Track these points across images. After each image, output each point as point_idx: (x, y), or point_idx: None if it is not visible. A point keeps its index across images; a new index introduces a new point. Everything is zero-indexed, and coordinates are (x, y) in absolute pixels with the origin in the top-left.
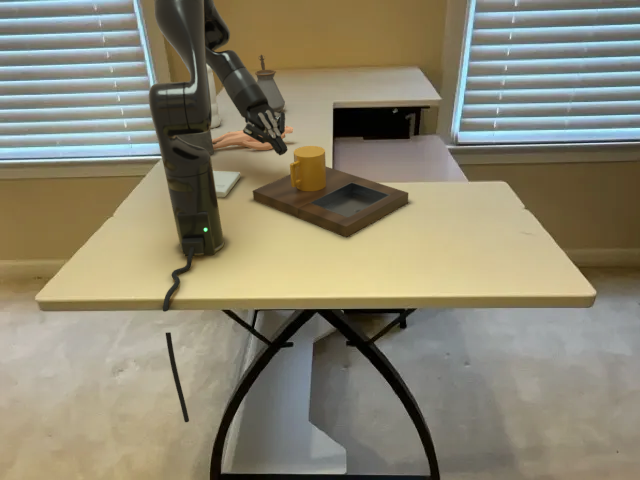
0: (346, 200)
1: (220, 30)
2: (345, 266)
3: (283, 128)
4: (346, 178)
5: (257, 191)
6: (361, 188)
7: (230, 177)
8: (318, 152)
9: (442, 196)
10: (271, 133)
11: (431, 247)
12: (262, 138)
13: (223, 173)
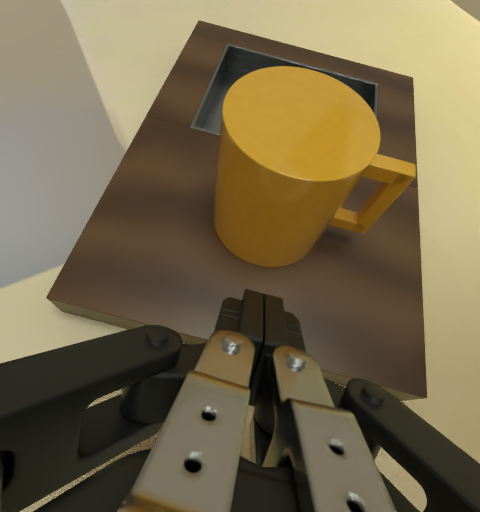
0: None
1: None
2: (474, 78)
3: (130, 338)
4: (169, 145)
5: (421, 370)
6: (205, 107)
7: None
8: (293, 83)
9: (141, 6)
10: (303, 382)
11: (340, 4)
12: (379, 448)
13: None
